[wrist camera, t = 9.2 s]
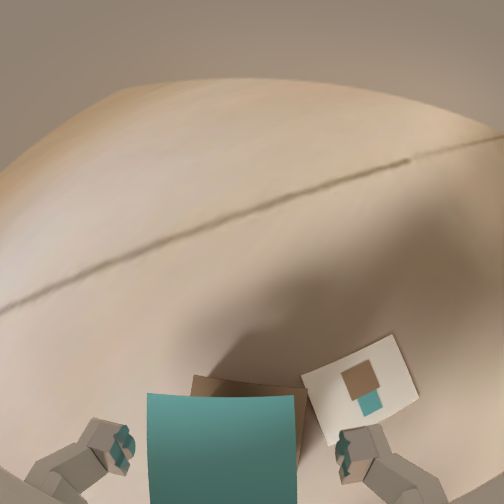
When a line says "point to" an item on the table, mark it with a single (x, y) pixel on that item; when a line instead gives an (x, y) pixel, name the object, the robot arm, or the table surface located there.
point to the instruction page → (360, 388)
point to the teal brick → (221, 450)
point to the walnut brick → (239, 389)
